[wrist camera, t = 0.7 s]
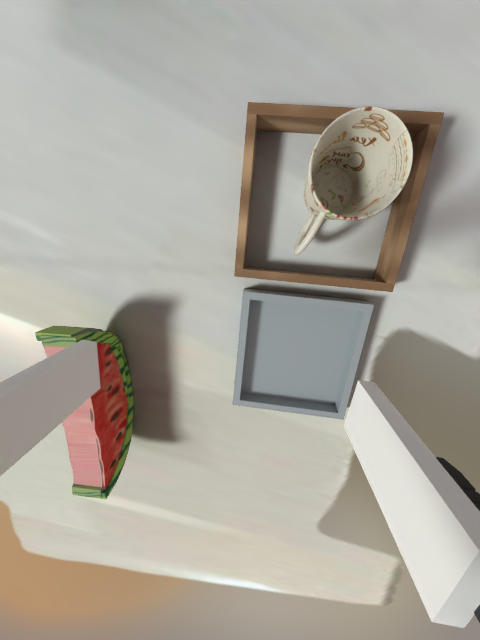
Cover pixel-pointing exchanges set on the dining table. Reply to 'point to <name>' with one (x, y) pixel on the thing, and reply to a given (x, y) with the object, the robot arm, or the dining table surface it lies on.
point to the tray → (299, 351)
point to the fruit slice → (97, 412)
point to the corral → (404, 205)
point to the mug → (356, 168)
